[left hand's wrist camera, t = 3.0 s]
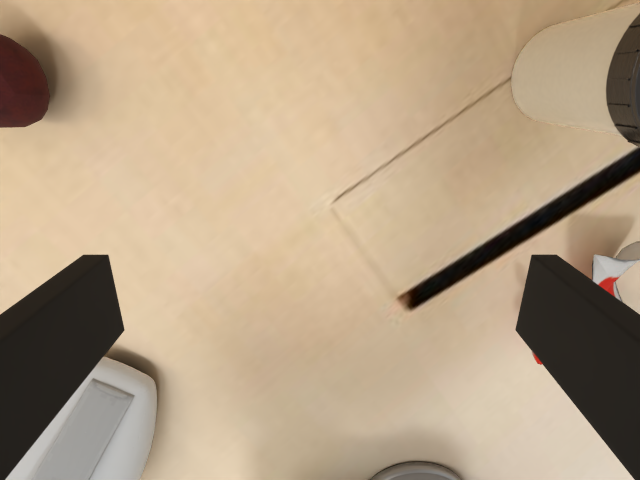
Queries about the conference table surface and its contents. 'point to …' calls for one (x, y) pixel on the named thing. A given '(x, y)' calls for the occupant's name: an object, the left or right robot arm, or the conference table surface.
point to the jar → (571, 70)
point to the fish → (612, 270)
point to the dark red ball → (21, 86)
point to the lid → (626, 84)
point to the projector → (97, 430)
